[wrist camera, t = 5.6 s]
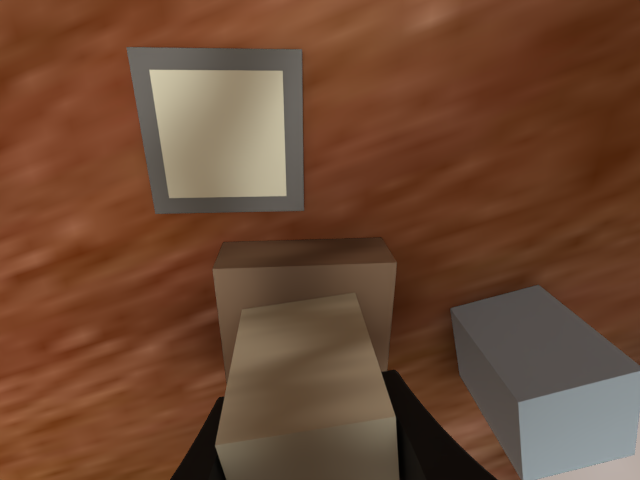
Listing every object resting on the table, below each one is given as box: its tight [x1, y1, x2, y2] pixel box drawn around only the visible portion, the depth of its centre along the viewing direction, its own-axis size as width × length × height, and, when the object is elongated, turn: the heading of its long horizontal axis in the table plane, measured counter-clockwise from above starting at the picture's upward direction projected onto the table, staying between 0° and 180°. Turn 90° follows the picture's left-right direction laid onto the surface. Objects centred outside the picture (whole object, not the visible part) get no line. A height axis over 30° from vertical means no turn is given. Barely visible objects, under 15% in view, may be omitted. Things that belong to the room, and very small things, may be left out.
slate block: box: [450, 285, 640, 480], centre depth 17 cm, size 4×4×6 cm
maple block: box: [215, 293, 399, 480], centre depth 13 cm, size 4×4×6 cm
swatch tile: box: [127, 47, 304, 214], centre depth 14 cm, size 6×6×1 cm
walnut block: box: [213, 237, 397, 383], centre depth 17 cm, size 7×7×3 cm
